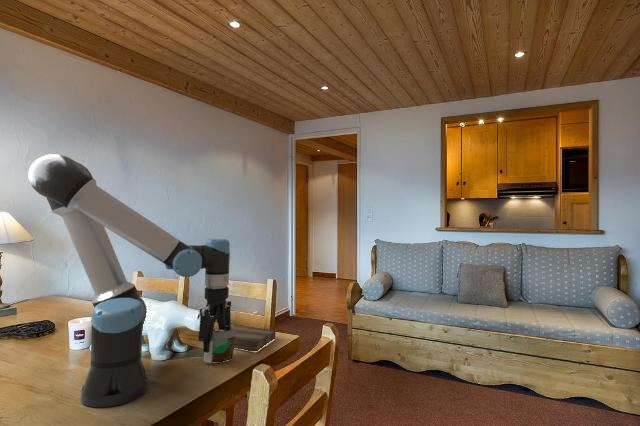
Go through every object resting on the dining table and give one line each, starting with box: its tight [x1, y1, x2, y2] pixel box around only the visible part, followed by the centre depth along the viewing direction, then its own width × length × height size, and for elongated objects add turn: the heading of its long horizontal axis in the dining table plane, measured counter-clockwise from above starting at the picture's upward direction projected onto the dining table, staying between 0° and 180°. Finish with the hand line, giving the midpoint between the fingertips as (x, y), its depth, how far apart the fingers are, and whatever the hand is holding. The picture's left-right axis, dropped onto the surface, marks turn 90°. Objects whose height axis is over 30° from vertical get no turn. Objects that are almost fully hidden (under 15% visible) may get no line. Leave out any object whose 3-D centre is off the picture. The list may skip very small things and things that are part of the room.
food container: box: [211, 328, 237, 362], centre depth 116 cm, size 12×6×10 cm, turn 73°
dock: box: [228, 324, 277, 351], centre depth 133 cm, size 14×18×4 cm
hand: (214, 357), depth 116 cm, fingers closed on food container, 6 cm apart
